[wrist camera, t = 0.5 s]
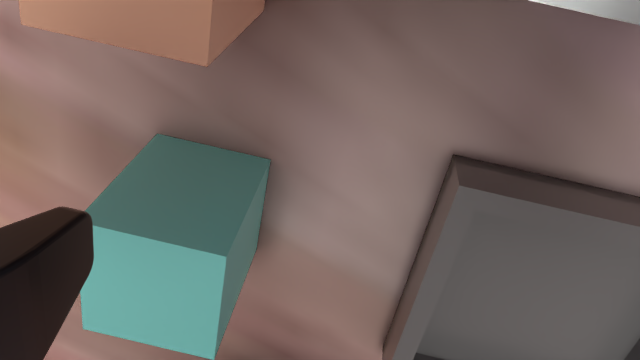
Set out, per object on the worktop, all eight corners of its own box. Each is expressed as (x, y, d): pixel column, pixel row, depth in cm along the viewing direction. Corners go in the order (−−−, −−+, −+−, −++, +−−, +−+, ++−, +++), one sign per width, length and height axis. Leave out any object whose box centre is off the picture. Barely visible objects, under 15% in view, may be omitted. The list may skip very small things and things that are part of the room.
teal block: (256, 249, 23) (214, 360, 17) (154, 225, 23) (82, 328, 18) (270, 159, 20) (226, 256, 15) (157, 133, 20) (75, 221, 15)
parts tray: (602, 399, 24) (620, 443, 22) (382, 347, 24) (381, 387, 23) (736, 219, 19) (774, 257, 17) (453, 154, 19) (459, 185, 17)
